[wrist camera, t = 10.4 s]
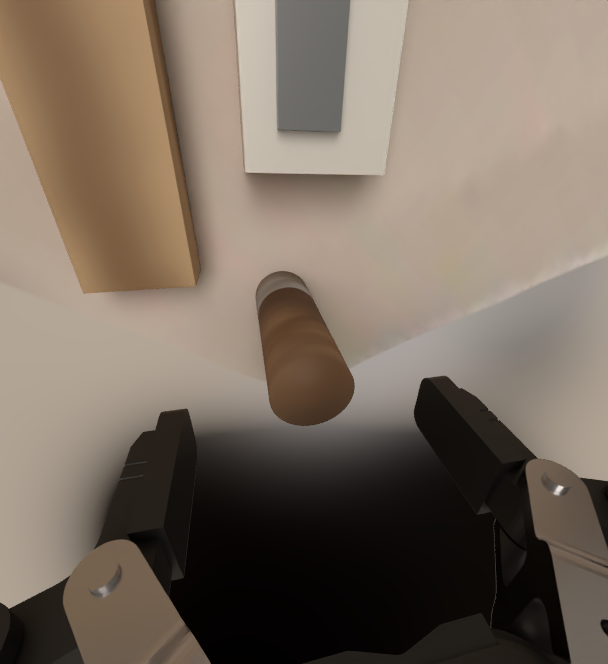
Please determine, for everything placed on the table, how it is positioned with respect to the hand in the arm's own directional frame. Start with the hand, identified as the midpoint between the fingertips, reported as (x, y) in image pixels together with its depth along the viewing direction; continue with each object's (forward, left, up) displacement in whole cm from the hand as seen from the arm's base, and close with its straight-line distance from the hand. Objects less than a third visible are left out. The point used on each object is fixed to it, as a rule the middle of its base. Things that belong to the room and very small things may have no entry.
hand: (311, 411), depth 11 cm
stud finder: (-2, -11, -10) cm, 15 cm away
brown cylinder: (0, 0, -10) cm, 10 cm away
